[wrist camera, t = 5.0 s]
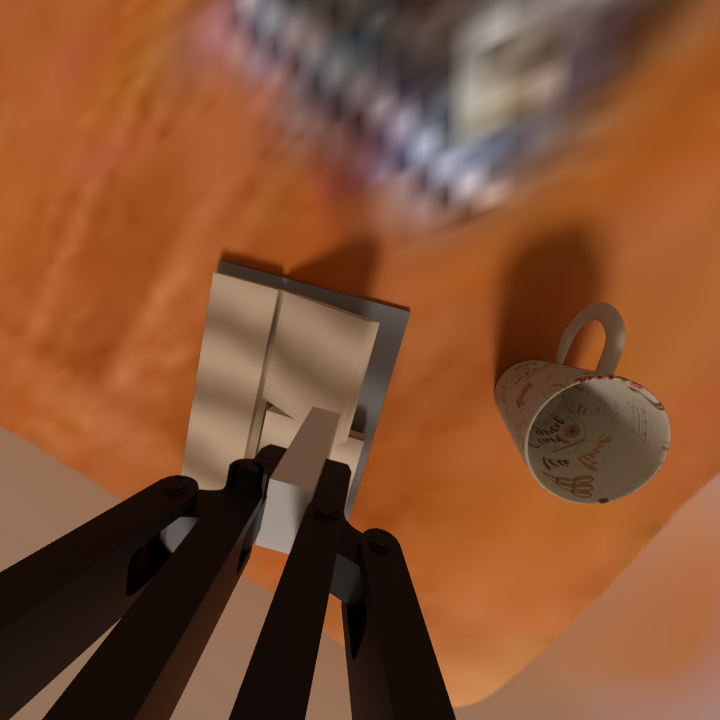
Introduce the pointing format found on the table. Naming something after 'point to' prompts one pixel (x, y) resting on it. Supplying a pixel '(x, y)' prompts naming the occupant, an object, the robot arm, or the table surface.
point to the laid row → (250, 365)
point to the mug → (584, 419)
